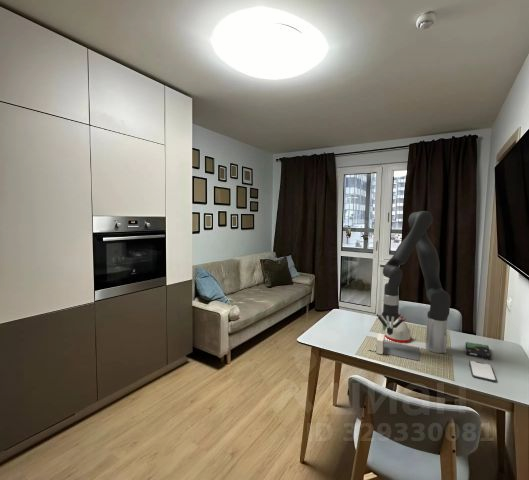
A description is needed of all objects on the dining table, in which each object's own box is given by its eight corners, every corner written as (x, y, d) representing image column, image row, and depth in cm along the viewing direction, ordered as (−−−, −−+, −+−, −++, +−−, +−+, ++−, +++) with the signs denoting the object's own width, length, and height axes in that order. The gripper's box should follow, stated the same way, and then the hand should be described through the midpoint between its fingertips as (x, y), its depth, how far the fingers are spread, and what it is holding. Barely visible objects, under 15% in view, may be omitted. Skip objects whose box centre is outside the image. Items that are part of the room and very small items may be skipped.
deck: (384, 334, 158) (383, 341, 149) (384, 346, 158) (382, 354, 150) (378, 333, 159) (376, 339, 150) (378, 345, 160) (376, 353, 151)
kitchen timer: (386, 331, 181) (387, 308, 180) (411, 336, 174) (412, 312, 173) (383, 339, 169) (384, 314, 168) (409, 345, 162) (410, 318, 161)
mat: (418, 348, 158) (418, 347, 158) (419, 361, 144) (419, 360, 144) (371, 339, 169) (371, 339, 169) (368, 350, 154) (368, 350, 154)
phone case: (497, 384, 125) (491, 367, 139) (497, 381, 125) (491, 364, 139) (471, 378, 129) (468, 363, 143) (472, 375, 129) (468, 359, 143)
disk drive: (491, 361, 145) (488, 350, 158) (491, 356, 145) (488, 345, 158) (466, 356, 151) (464, 345, 163) (466, 351, 150) (465, 340, 163)
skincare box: (381, 329, 184) (382, 305, 183) (380, 326, 190) (381, 302, 189) (396, 331, 182) (397, 307, 180) (394, 327, 188) (395, 304, 187)
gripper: (404, 302, 156) (403, 334, 157) (378, 299, 162) (377, 329, 163) (404, 306, 149) (403, 339, 150) (377, 302, 155) (375, 334, 156)
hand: (389, 334), depth 157 cm, fingers closed
